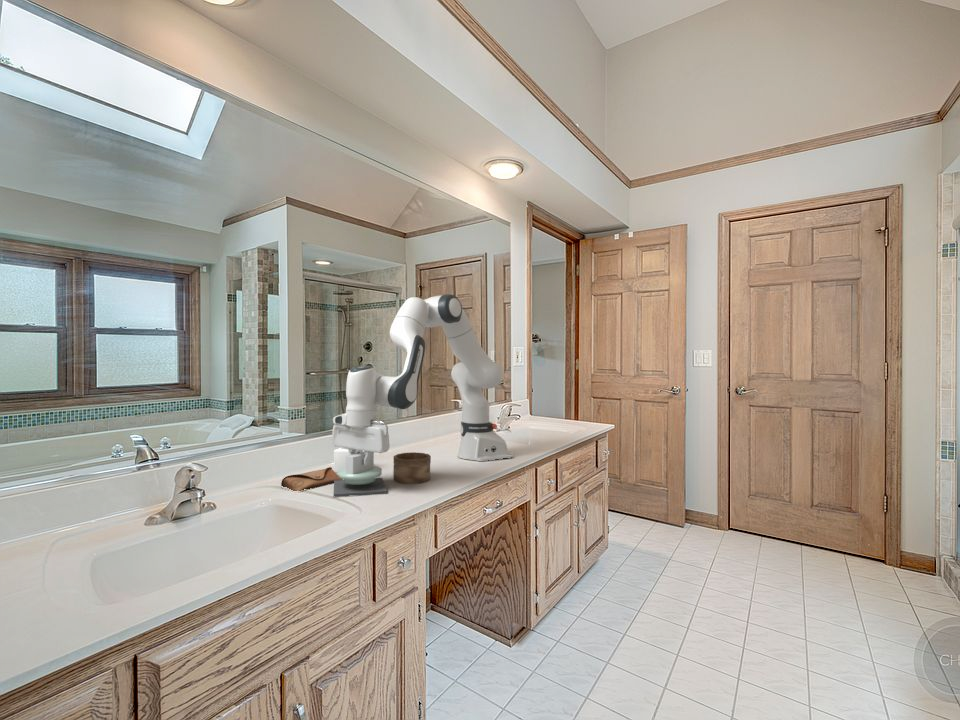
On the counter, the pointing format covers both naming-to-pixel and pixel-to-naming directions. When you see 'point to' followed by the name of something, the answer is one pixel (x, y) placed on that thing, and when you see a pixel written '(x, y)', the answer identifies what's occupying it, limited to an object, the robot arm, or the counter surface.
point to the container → (341, 458)
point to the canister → (411, 468)
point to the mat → (359, 488)
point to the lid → (359, 470)
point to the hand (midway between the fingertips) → (360, 464)
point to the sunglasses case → (310, 479)
